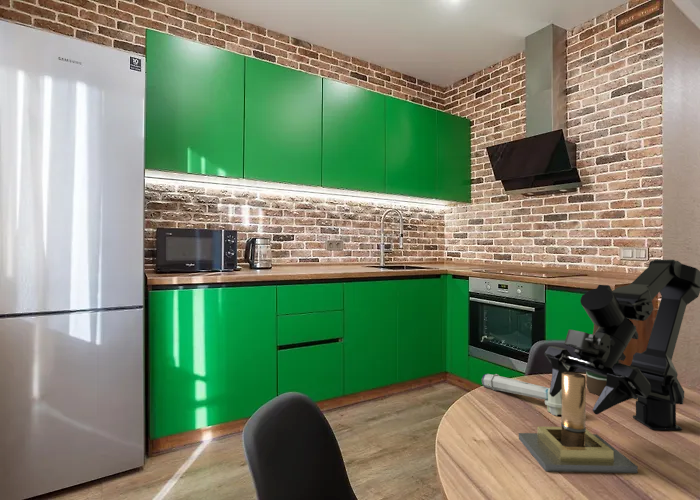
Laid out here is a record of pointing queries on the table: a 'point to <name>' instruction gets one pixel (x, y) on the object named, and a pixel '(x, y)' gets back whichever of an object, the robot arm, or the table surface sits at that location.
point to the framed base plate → (575, 453)
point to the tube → (573, 409)
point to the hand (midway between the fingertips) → (571, 403)
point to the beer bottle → (595, 378)
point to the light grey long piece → (524, 391)
